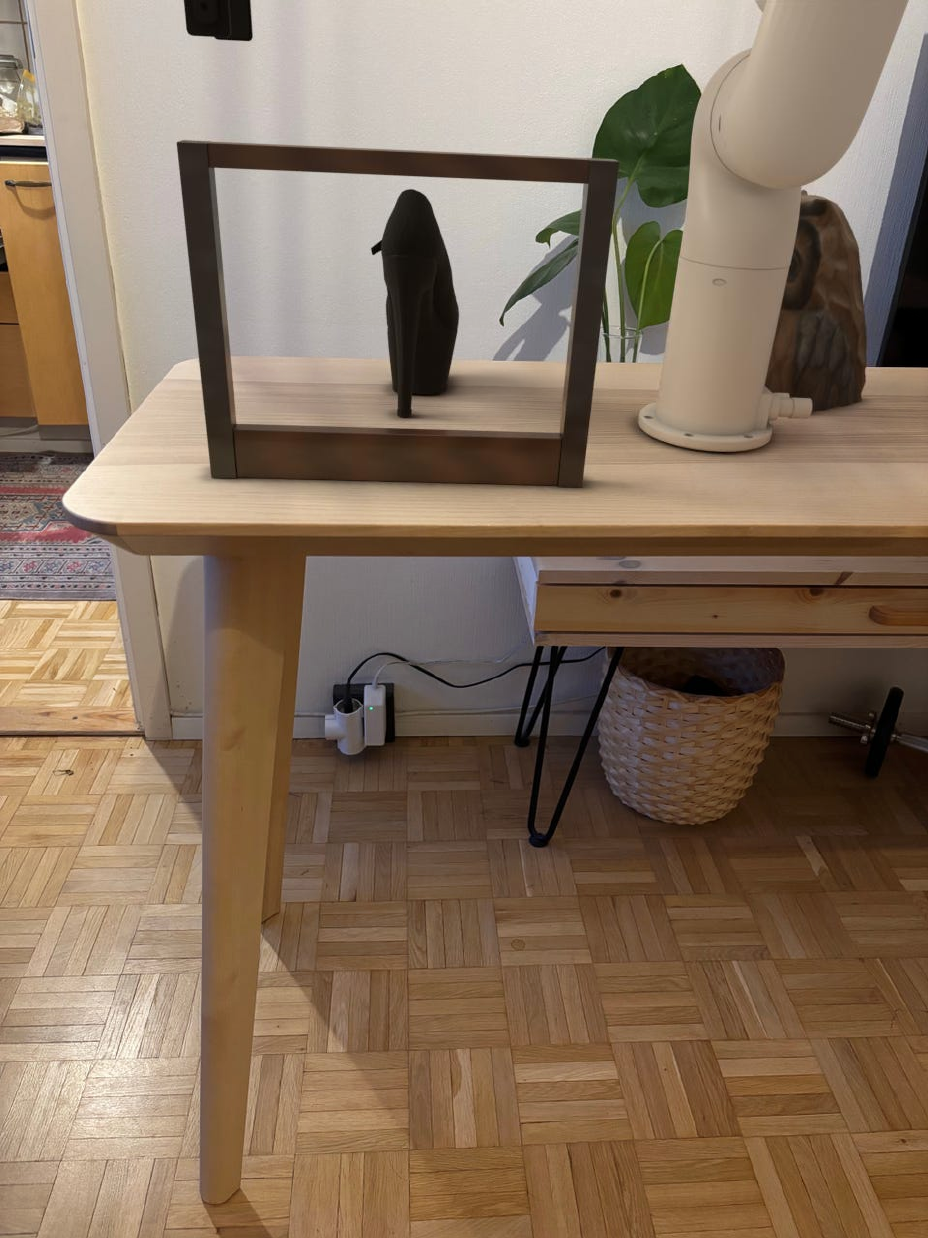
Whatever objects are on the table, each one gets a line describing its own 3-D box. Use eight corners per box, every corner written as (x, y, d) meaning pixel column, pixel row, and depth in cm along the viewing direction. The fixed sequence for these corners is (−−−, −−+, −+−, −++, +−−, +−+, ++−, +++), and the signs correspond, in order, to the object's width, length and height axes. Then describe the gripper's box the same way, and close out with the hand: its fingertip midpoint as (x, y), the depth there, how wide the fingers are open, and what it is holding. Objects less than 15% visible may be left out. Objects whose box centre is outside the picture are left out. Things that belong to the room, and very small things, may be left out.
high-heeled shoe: (461, 371, 103) (469, 174, 93) (441, 426, 87) (448, 194, 77) (391, 366, 104) (391, 169, 94) (357, 420, 87) (354, 189, 77)
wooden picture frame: (578, 478, 77) (614, 158, 65) (582, 487, 75) (619, 161, 63) (215, 468, 76) (182, 139, 63) (211, 478, 74) (176, 141, 62)
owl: (793, 419, 93) (843, 204, 83) (700, 386, 102) (734, 188, 92) (867, 401, 100) (922, 200, 90) (773, 372, 109) (813, 185, 98)
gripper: (231, -291, 57) (252, 37, 66) (271, -216, 72) (284, 43, 81) (107, -299, 57) (145, 32, 65) (173, -222, 71) (197, 39, 80)
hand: (222, 38), depth 73 cm, fingers open, 9 cm apart
